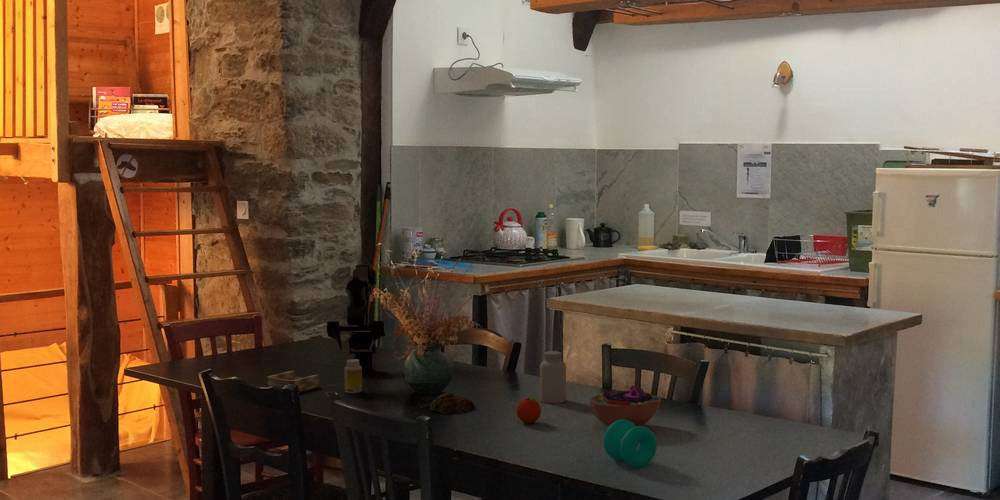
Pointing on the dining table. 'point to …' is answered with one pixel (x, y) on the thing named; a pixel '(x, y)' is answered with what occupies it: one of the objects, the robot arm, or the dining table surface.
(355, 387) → the supplement bottle
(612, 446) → the green spool
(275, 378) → the caddy
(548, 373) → the pill bottle
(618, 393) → the cell model
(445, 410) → the bread roll
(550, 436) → the dining table surface
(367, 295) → the robot arm
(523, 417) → the tomato
